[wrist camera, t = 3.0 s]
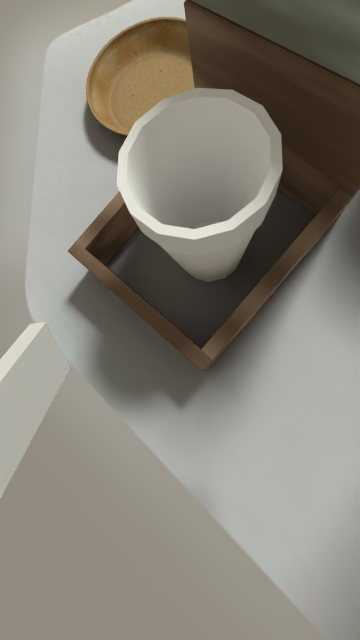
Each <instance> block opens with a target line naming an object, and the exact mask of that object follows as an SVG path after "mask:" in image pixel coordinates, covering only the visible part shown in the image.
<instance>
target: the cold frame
mask: <svg viewBox="0 0 360 640" xmlns="http://www.w3.org/2000/svg"><path fill="white" fill-rule="evenodd" d="M184 8H185V16H186V24H187V32H188V39H189V47H190V55H191V63H192V71H193V79H194V87H195V88H210V89H229V90H234V91H236V92H238V93H240V94H242V95H243V96H245V97H247V98H249V99H251V100H253V101H255V102H257V103H258V104H260V105H262V106H263V107H264V108H265V110H266V111H267V113H268V115H269V116H270V118H271V119H272V121H273V122H274V124H275V125H276V127H277V128H278V130H279V131H280V133H281V142H282V167H283V170H282V173H281V177H280V181H279V185H278V188H277V189H278V190H279V191H281V192H283V193H284V194H286V195H287V196H289V197H290V198H292V199H293V200H295V201H297V202H298V203H300V204H301V205H303V206H304V207H306V208H307V209H309V210H311V211H312V212H314V213H315V214H317V215H316V216H315V217H314V219H313V220H312V221H311V222H310V223H309V224H308V226H307V227H306V228H305V229H304V230H303V231H302V233H301V234H300V235H299V236H298V237H297V238H296V240H295V241H294V242H293V243H292V244H291V245H290V247H289V248H288V249H287V250H286V251H285V252H284V254H283V255H282V256H281V257H280V258H279V259H278V261H277V262H276V263H275V264H274V265H273V266H272V268H271V269H270V270H269V271H268V272H267V273H266V275H265V276H264V277H263V278H262V279H261V280H260V282H259V283H258V284H257V285H256V286H255V287H254V289H253V290H252V291H251V292H250V293H249V294H248V296H247V297H246V298H245V299H244V300H243V301H242V303H241V304H240V305H239V306H238V307H237V308H236V310H235V311H234V312H233V313H232V314H231V315H230V317H229V318H228V319H227V320H226V321H225V322H224V324H223V325H222V326H221V327H220V328H219V329H218V331H217V332H216V333H215V334H214V335H213V336H212V338H211V339H210V340H209V341H208V342H207V343H206V345H205V346H204V347H203V348H202V349H201V348H200V347H199V346H198V345H196V344H195V343H194V342H193V341H192V340H191V339H190V338H188V337H187V336H186V335H185V334H184V333H183V332H181V331H180V330H179V329H178V328H177V327H176V326H175V325H173V324H172V323H171V322H170V321H169V320H168V319H166V318H165V317H164V316H163V315H162V314H161V313H160V312H158V311H157V310H156V309H155V308H154V307H153V306H151V305H150V304H149V303H148V302H147V301H146V300H145V299H143V298H142V297H141V296H140V295H139V294H138V293H136V292H135V291H134V290H133V289H132V288H131V287H129V286H128V285H127V284H126V283H125V282H124V281H123V280H121V279H120V278H119V277H118V276H117V275H116V274H114V273H113V272H112V271H111V270H110V269H109V268H108V267H106V265H107V264H108V262H109V261H110V260H111V259H112V258H113V257H114V255H115V254H116V253H117V252H118V251H119V250H120V249H121V247H122V246H123V245H124V244H125V243H126V242H127V240H128V239H129V238H130V237H131V236H132V235H133V234H134V232H135V231H136V230H137V229H138V228H139V227H138V225H137V223H136V222H135V220H134V219H133V217H132V216H131V214H130V212H129V210H128V208H127V206H126V203H125V201H124V199H123V197H122V195H121V193H120V191H119V192H118V194H117V195H116V196H115V197H114V198H113V199H112V201H111V202H110V203H109V204H108V205H107V206H106V207H105V209H104V210H103V211H102V212H101V213H100V214H99V215H98V217H97V218H96V219H95V220H94V221H93V222H92V224H91V225H90V226H89V227H88V228H87V229H86V230H85V232H84V233H83V234H82V235H81V236H80V237H79V238H78V240H77V241H76V242H75V243H74V244H73V245H72V247H71V248H70V249H69V250H68V252H69V253H70V254H71V255H72V256H74V257H75V258H76V259H77V260H78V261H79V262H80V263H81V264H83V265H84V266H85V267H86V268H87V269H88V270H89V271H90V272H92V273H93V274H94V275H95V276H96V277H97V278H98V279H99V280H101V281H102V282H103V283H104V284H105V285H106V286H107V287H108V288H110V289H111V290H112V291H113V292H114V293H115V294H116V295H117V296H119V297H120V298H121V299H122V300H123V301H124V302H125V303H126V304H128V305H129V306H130V307H131V308H132V309H133V310H134V311H135V312H137V313H138V314H139V315H140V316H141V317H142V318H143V319H144V320H146V321H147V322H148V323H149V324H150V325H151V326H152V327H153V328H155V329H156V330H157V331H158V332H159V333H160V334H161V335H163V336H164V337H165V338H166V339H167V340H168V341H169V342H170V343H172V344H173V345H174V346H175V347H176V348H177V349H178V350H179V351H181V352H182V353H183V354H184V355H185V356H186V357H187V358H188V359H190V360H191V361H192V362H193V363H194V364H195V365H196V366H197V367H199V368H200V369H201V370H202V371H207V370H208V369H209V368H210V367H211V366H212V364H213V363H214V362H215V361H216V360H217V358H218V357H219V356H220V355H221V354H222V353H223V351H224V350H225V349H226V348H227V347H228V346H229V344H230V343H231V342H232V341H233V340H234V339H235V337H236V336H237V335H238V334H239V333H240V332H241V330H242V329H243V328H244V327H245V326H246V325H247V323H248V322H249V321H250V320H251V319H252V318H253V316H254V315H255V314H256V313H257V312H258V311H259V309H260V308H261V307H262V306H263V305H264V304H265V302H266V301H267V300H268V299H269V298H270V297H271V295H272V294H273V293H274V292H275V291H276V290H277V288H278V287H279V286H280V285H281V284H282V283H283V281H284V280H285V279H286V278H287V277H288V276H289V274H290V273H291V272H292V271H293V270H294V269H295V267H296V266H297V265H298V264H299V263H300V262H301V260H302V259H303V258H304V257H305V256H306V254H307V253H308V252H309V251H310V250H311V249H312V247H313V246H314V245H315V244H316V243H317V242H318V240H319V239H320V238H321V237H322V236H323V235H324V233H325V232H326V231H327V230H328V229H329V228H330V226H331V225H332V224H333V223H334V222H335V221H336V219H337V218H338V217H339V216H340V215H341V213H342V212H343V211H344V209H345V208H346V206H347V205H348V204H349V202H350V201H351V200H352V198H353V197H354V195H355V194H356V193H357V191H358V190H359V189H360V0H186V1H185V2H184Z"/></svg>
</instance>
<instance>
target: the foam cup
mask: <svg viewBox="0 0 360 640" xmlns="http://www.w3.org/2000/svg"><path fill="white" fill-rule="evenodd" d="M282 170H283V167H282V142H281V133H280V131H279V130H278V128H277V127H276V125H275V124H274V122H273V121H272V119H271V118H270V116H269V115H268V113H267V111H266V110H265V108H264V107H263V106H262V105H260V104H258V103H257V102H255V101H253V100H251V99H249V98H247V97H245V96H243V95H242V94H240V93H238V92H236V91H234V90H229V89H210V88H195V89H192V90H189V91H186V92H183V93H180V94H177V95H174V96H171V97H168V98H165V99H162V100H161V101H160V102H159V103H158V104H156V105H155V106H154V107H153V108H152V109H150V110H149V111H148V112H147V113H145V114H144V115H143V116H142V117H141V118H139V119H138V120H137V121H136V122H135V123H134V125H133V127H132V129H131V130H130V132H129V134H128V136H127V138H126V140H125V141H124V143H123V145H122V147H121V149H120V151H119V156H118V172H117V186H118V188H119V190H120V193H121V195H122V197H123V199H124V201H125V203H126V206H127V208H128V210H129V212H130V214H131V216H132V217H133V219H134V220H135V222H136V223H137V225H138V227H139V228H140V230H141V231H142V233H144V234H145V235H146V236H148V237H149V238H150V239H152V240H153V241H155V242H156V243H157V244H159V245H160V246H161V247H162V248H163V249H164V250H165V251H166V252H167V253H168V254H169V255H170V256H171V257H172V258H173V259H174V260H175V261H176V262H177V263H178V264H179V265H180V266H181V267H182V268H183V269H184V270H185V271H186V272H188V273H189V274H190V275H192V276H193V277H194V278H196V279H198V280H204V281H209V282H212V281H216V280H220V279H224V278H226V277H227V276H228V275H229V274H231V273H232V272H233V271H234V270H236V268H237V267H238V265H239V263H240V261H241V258H242V256H243V254H244V252H245V250H246V248H247V246H248V244H249V242H250V240H251V238H252V236H253V234H254V232H255V230H256V229H257V228H258V227H259V226H261V224H262V222H263V220H264V218H265V216H266V214H267V212H268V210H269V208H270V206H271V204H272V202H273V200H274V198H275V196H276V192H277V188H278V185H279V181H280V177H281V173H282Z"/></svg>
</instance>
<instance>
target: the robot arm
mask: <svg viewBox="0 0 360 640" xmlns="http://www.w3.org/2000/svg"><path fill="white" fill-rule="evenodd" d="M69 369H70V366H69V364H68V363H67V361H66V359H65V357H64V355H63V353H62V351H61V349H60V347H59V345H58V344H57V342H56V340H55V338H54V336H53V334H52V332H51V330H50V329H49V327H48V325H47V323H46V322H44V323H34V324H30V325H29V326H28V327H27V328H26V330H25V331H24V332H23V333H22V334H21V336H20V337H19V338H18V339H17V340H16V341H15V343H14V344H13V345H12V347H10V349H9V350H8V351H7V352H6V353H5V355H4V356H3V357H2V358H1V359H0V498H1V496H2V494H3V492H4V490H5V488H6V487H7V485H8V483H9V481H10V479H11V477H12V476H13V474H14V472H15V470H16V468H17V466H18V464H19V462H20V460H21V458H22V457H23V455H24V453H25V451H26V449H27V448H28V446H29V444H30V442H31V440H32V438H33V436H34V435H35V433H36V431H37V428H38V427H39V425H40V423H41V421H42V420H43V418H44V416H45V414H46V412H47V410H48V408H49V407H50V405H51V403H52V401H53V399H54V397H55V395H56V393H57V392H58V390H59V388H60V386H61V384H62V382H63V380H64V379H65V377H66V375H67V373H68V371H69Z"/></svg>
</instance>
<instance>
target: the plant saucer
mask: <svg viewBox="0 0 360 640" xmlns="http://www.w3.org/2000/svg"><path fill="white" fill-rule="evenodd" d="M192 89H195V87H194V79H193V71H192V63H191V55H190V47H189V39H188V32H187V24H186V20H185V19H182V18H175V17H158V18H151V19H149V20H144V21H141V22H139V23H136V24H134V25H132V26H130V27H128V28H127V29H125V30H123V31H121V32H120V33H119V34H117V35H116V36H115V37H113V38H112V39H111V40H110V41H109V42H108V43H107V44H106V45H105V46H104V47H103V48H102V49H101V51H100V52H99V53H98V55H97V56H96V58H95V60H94V62H93V64H92V66H91V68H90V71H89V74H88V78H87V85H86V95H87V101H88V105H89V107H90V110H91V111H92V113H93V115H94V116H95V118H96V119H97V120H98V121H99V122H100V123H101V124H102V125H103V126H105V127H106V128H108V129H110V130H111V131H114V132H116V133H119V134H122V135H125V136H128V134H129V132H130V130H131V129H132V127H133V125H134V123H135V122H136V121H137V120H138V119H139V118H141V117H142V116H143V115H144V114H145V113H147V112H148V111H149V110H150V109H152V108H153V107H154V106H155V105H156V104H158V103H159V102H160V101H161V100H162V99H165V98H168V97H171V96H174V95H177V94H180V93H183V92H186V91H189V90H192Z"/></svg>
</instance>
